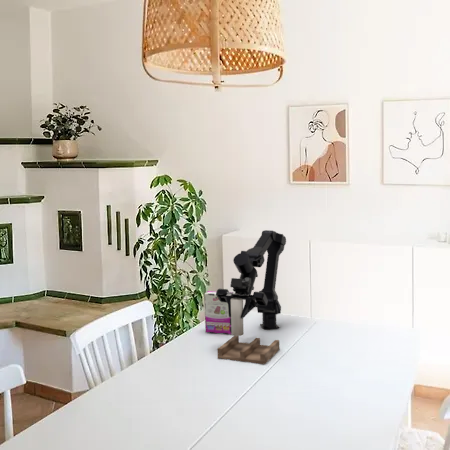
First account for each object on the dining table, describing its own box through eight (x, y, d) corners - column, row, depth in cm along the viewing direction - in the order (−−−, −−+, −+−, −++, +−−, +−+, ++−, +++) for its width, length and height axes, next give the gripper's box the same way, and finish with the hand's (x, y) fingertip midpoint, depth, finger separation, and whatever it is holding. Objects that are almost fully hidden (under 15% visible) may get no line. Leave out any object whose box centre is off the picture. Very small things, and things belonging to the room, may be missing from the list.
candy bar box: (235, 331, 247) (234, 291, 244) (231, 334, 242) (230, 294, 240) (208, 329, 250) (207, 290, 248) (204, 333, 245) (203, 293, 243)
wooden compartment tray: (234, 344, 230) (234, 335, 230) (279, 349, 223) (279, 340, 223) (217, 358, 216) (217, 348, 215) (264, 364, 209) (264, 354, 208)
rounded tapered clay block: (229, 333, 221) (228, 298, 219) (239, 331, 223) (239, 297, 222) (235, 336, 217) (234, 301, 216) (245, 334, 219) (245, 299, 218)
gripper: (217, 267, 225) (204, 303, 216) (264, 270, 217) (253, 308, 208) (226, 283, 233) (214, 319, 224) (272, 287, 225) (262, 324, 217)
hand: (235, 317), depth 218 cm, fingers closed on rounded tapered clay block, 4 cm apart
